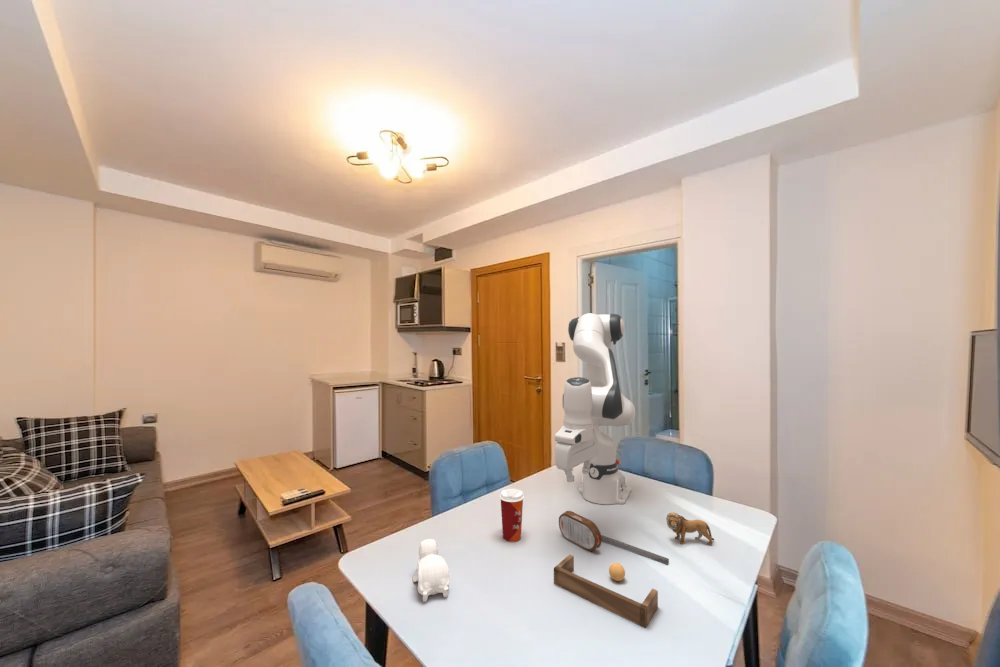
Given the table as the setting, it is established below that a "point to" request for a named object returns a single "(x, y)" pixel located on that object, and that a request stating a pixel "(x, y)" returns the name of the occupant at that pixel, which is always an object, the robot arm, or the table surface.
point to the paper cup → (511, 514)
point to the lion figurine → (688, 527)
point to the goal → (605, 594)
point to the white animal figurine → (431, 571)
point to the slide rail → (635, 550)
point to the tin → (580, 530)
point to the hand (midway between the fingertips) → (578, 477)
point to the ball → (616, 571)
